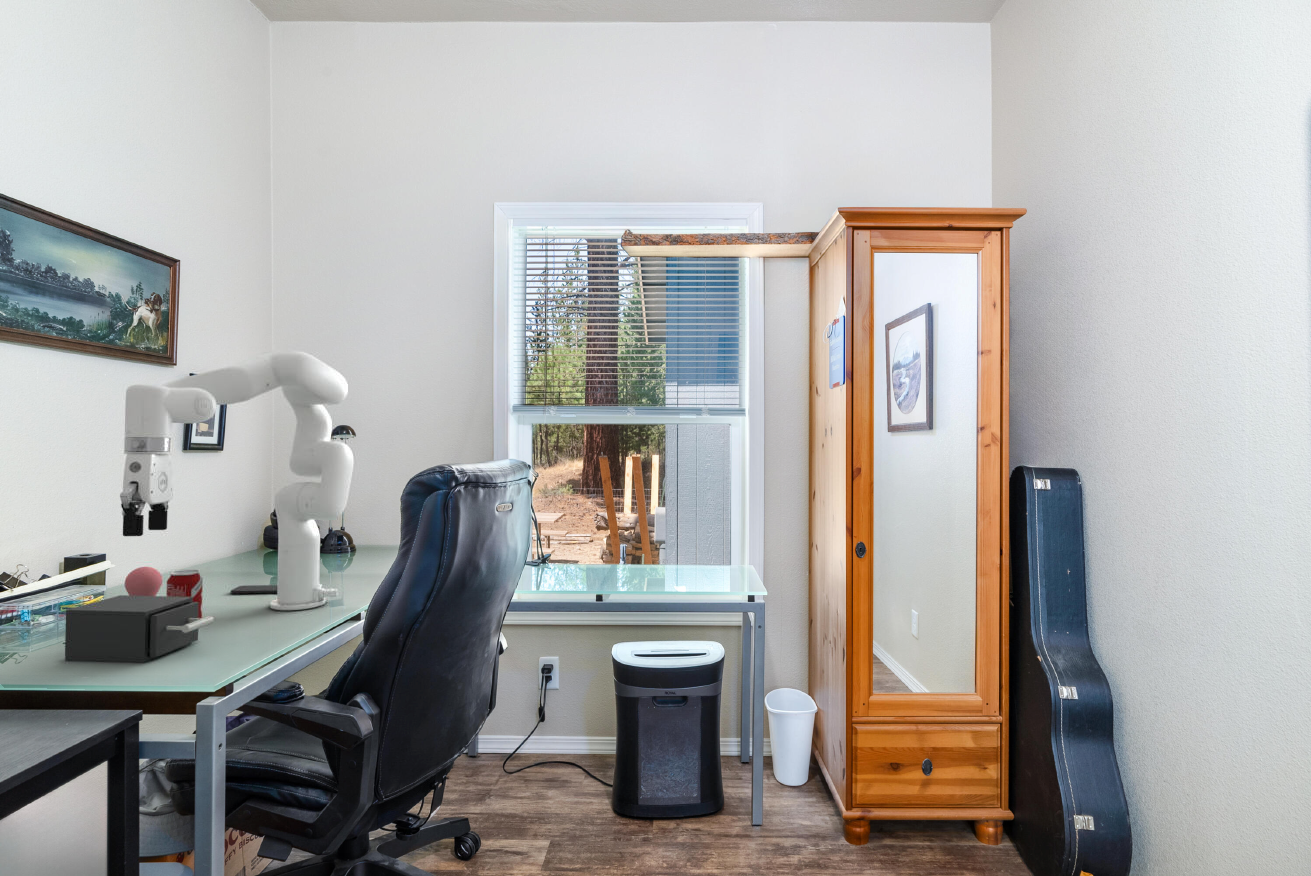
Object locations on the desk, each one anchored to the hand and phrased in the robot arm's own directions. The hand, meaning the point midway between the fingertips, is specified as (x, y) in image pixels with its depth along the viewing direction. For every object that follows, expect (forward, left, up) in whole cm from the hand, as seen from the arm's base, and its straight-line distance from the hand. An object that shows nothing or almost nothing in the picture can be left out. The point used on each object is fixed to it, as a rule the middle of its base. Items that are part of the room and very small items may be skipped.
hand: (145, 532), depth 136 cm
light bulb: (+10, -30, -24) cm, 39 cm away
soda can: (-1, -21, -24) cm, 31 cm away
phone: (-10, -55, -24) cm, 60 cm away
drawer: (-2, +1, -23) cm, 23 cm away
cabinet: (+2, -1, -24) cm, 24 cm away
